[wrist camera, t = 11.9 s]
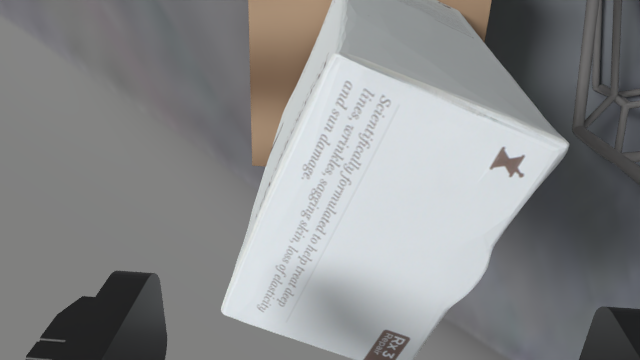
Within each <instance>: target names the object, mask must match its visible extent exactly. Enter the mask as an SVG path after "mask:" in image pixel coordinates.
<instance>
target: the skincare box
mask: <svg viewBox="0 0 640 360" xmlns="http://www.w3.org/2000/svg"><path fill="white" fill-rule="evenodd" d="M568 148H569V143H568V142H567V141H566V139H564V138H563V137H562V136H561V135H560V134H559V133H558V132H557V131H556V130H555V129H554V128H553V127H552V126H551V124H550V123H549V122H548V121H547V120H546V119H545V117H544V116H543V115H542V114H541V112H540V111H539V110H538V109H537V107H536V106H535V105H534V104H533V102H532V101H531V100H530V99H529V97H528V96H527V95H526V94H525V93H524V91H523V90H522V89H521V87H520V86H519V85H518V84H517V82H516V81H515V80H514V79H513V77H512V76H511V75H510V74H509V72H508V71H507V70H506V69H505V68H504V67H503V66H502V64H501V63H500V62H499V60H498V59H497V58H496V57H495V56H494V54H493V53H492V52H491V51H490V49H489V48H488V47H487V46H486V44H485V43H484V42H483V41H482V39H481V38H480V37H479V36H478V34H477V33H476V32H475V31H474V29H473V28H472V27H471V25H470V24H469V23H468V22H467V20H466V19H465V18H464V16H463V15H462V14H461V13H460V12H459V11H458V10H456V9H454V8H452V7H450V6H448V5H446V4H444V3H441V2H439V1H437V0H332V2H331V5H330V8H329V10H328V13H327V15H326V18H325V20H324V23H323V25H322V28H321V31H320V33H319V35H318V38H317V40H316V42H315V45H314V47H313V50H312V52H311V54H310V57H309V59H308V61H307V63H306V66H305V68H304V70H303V72H302V74H301V77H300V79H299V81H298V83H297V85H296V87H295V89H294V91H293V93H292V95H291V97H290V99H289V101H288V103H287V105H286V107H285V109H284V112H283V114H282V118H281V121H280V124H279V127H278V129H277V133H276V136H275V139H274V143H273V146H272V149H271V152H270V156H269V159H268V162H267V165H266V168H265V171H264V174H263V178H262V181H261V184H260V187H259V191H258V194H257V197H256V200H255V203H254V207H253V210H252V214H251V218H250V222H249V226H248V230H247V233H246V236H245V240H244V243H243V246H242V248H241V251H240V254H239V257H238V260H237V263H236V266H235V269H234V272H233V276H232V279H231V282H230V284H229V287H228V290H227V292H226V295H225V298H224V301H223V304H222V307H221V312H222V313H223V314H224V315H226V316H229V317H232V318H235V319H237V320H240V321H242V322H245V323H248V324H250V325H254V326H257V327H260V328H263V329H265V330H268V331H271V332H274V333H277V334H280V335H283V336H286V337H289V338H292V339H295V340H298V341H301V342H304V343H307V344H310V345H313V346H316V347H319V348H322V349H325V350H328V351H331V352H334V353H337V354H340V355H343V356H346V357H349V358H351V359H354V360H414V359H415V357H416V356H417V355H418V353H419V351H420V350H421V349H422V347H423V346H424V344H425V343H426V341H427V340H428V338H429V337H430V335H431V334H432V332H433V331H434V329H435V328H436V327H437V325H438V324H439V323H440V321H441V320H442V318H443V317H444V315H445V314H446V313H447V311H448V310H449V308H450V307H452V306H453V305H454V304H455V303H457V302H458V301H459V300H461V299H462V298H463V297H465V296H466V295H467V294H468V293H469V292H470V291H471V290H472V289H473V288H474V287H475V286H476V284H477V283H478V282H479V281H480V279H481V278H482V276H483V274H484V273H485V271H486V269H487V267H488V264H489V260H490V256H491V253H492V249H493V247H494V245H495V244H496V243H497V241H498V240H499V238H500V237H501V236H502V234H503V233H504V231H505V230H506V229H507V227H508V226H509V224H510V223H511V222H512V220H513V219H514V218H515V216H516V215H517V214H518V212H519V211H520V210H521V208H522V207H523V206H524V204H525V203H526V202H527V201H528V199H529V198H530V197H531V196H532V194H533V193H534V192H535V191H536V190H537V188H538V187H539V186H540V185H541V184H542V183H543V181H544V180H545V179H546V178H547V177H548V176H549V175H550V173H551V172H552V171H553V170H554V169H555V167H556V166H557V165H558V164H559V163H560V161H561V160H562V159H563V158H564V156H565V155H566V153H567V151H568Z"/></svg>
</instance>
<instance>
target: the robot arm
mask: <svg viewBox="0 0 640 360" xmlns="http://www.w3.org/2000/svg"><path fill="white" fill-rule="evenodd" d="M166 348H167V332H166V324H165V317H164V308H163V301H162V293H161V285H160V280H159V277H158V275H157V274H155V273H142V272H128V271H115V272H113V273H112V274H111V275H110V276H109V278H108V279H107V281H106V282H105V284H104V285H103V287H102V288H101V289H100V291H99V293H98V294H97V295H96V297H85V296H84V297H83V296H82V297H81V298H79V299H78V300H77V301H75V302H74V303H73V304H71V305H70V306H68V307H67V308H66V309H64V310H63V311H62V312H60V313H59V314H57V316H56V317H55V318H54V320H53V321H52V322H51V324H50V325H49V326H48V328H47V329H46V330H45V332H44V333H43V334H42V336H41V337H40V342H37V343H36V344H35V345H34V347H33V348H32V349H31V350H30V352H29V353H28V354H27V356H26V360H165V355H166ZM579 360H640V309H631V308H616V307H600V308H599V309H598V310H597V311H596V313H595V315H594V317H593V320H592V323H591V326H590V329H589V332H588V335H587V338H586V341H585V344H584V347H583V349H582V352H581V355H580V358H579Z"/></svg>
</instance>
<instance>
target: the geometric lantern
mask: <svg viewBox="0 0 640 360" xmlns="http://www.w3.org/2000/svg"><path fill="white" fill-rule="evenodd" d="M621 11H622V0H614V5H613V34H612V62H611V88H609V87H607V86H606V85H604V84H601V85H599V78H600V50H601V22H602V0H587V3H586V12H585V21H584V30H583V38H582V47H581V56H580V65H579V73H578V82H577V91H576V100H575V108H574V117H573V126H572V131H573V133H574V134H575V136H576V137H577V138H578V139H580V140H581V141H582V142H583V143H585V144H586V145H587V146H589V147H590V148H591V149H593V150H594V151H595V152H597V153H598V154H599V155H601V156H602V157H603V158H605V159H606V160H608V161H610V162H611V163H614V164H615V165H616V166H617V167H618V168H620V169H621V170H622V171H623V172H624V173H625V174H627V175H628V176H629V177H630V178H631V179H633V180H634V181H635V182H636V183H637V184H638V185H640V166H639V165H637V164H636V163H634V162H640V151H639V152H625V153H622V147H623V141H624V135H625V129H626V122H627V116H628V110H629V109H632V108H638V107H640V101H634V102H629V101H628V100H627V99H626V98H624V97H630V96H637V95H640V89H635V90H628V91H621V92H618V83H619V59H620V35H621ZM592 57H593V76H592V86H593V90H595V91H597V92H599V93H601V94H603V95H605V96H607V98H606V99H605V100H604V101H603V102H602V103H601V104H600V105H599V107H598V108H597V109H596V110H595V111H594V112H593V113H592V114H591V115H590V116H589V117H588V118H587V119H586V120H585V113H586V105H587V97H588V89H589V81H590V73H591V65H592ZM613 101H614V102H616V103H617V104H618V105H619V106H621V113H620V118H619V124H618V130H617V136H616V142H615V148H613V147H611V146H610V145H609V144H607V143H606V142H604V141H603V140H602V139H600V138H599V137H597V136H596V135H594V134H593V133H592V132H590V131H589V130H587V128H588V127H589V126H590V125H591V123H592V122H593V121H594V120H595V119H596V118H597V117H598V116H599V115H600V114H601V113H602V112H603V111H604V110H605V109H606V108H607V107H608V106H609V105H610V104H611V103H612V102H613Z"/></svg>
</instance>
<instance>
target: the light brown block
mask: <svg viewBox="0 0 640 360" xmlns="http://www.w3.org/2000/svg"><path fill="white" fill-rule="evenodd" d="M437 1H439V2H441V3H444V4H446V5H448V6H450V7H452V8H454V9H456V10H458V11H459V12H460V13H461V14H462V15H463V16H464V18H465V19H466V20H467V22H468V23H469V24H470V25H471V27H472V28H473V29H474V31H475V32H476V33H477V34H478V36H479V37H480V38H481V39H482V41H483V42H485V36H486V30H487V24H488V18H489V13H490V7H491V1H492V0H437ZM248 2H249V44H250V87H251V129H252V166H266V165H267V162H268V159H269V156H270V152H271V149H272V146H273V143H274V139H275V136H276V133H277V129H278V127H279V124H280V121H281V118H282V114H283V112H284V109H285V107H286V105H287V103H288V101H289V99H290V97H291V95H292V93H293V91H294V89H295V87H296V85H297V83H298V81H299V79H300V77H301V74H302V72H303V70H304V68H305V66H306V63H307V61H308V59H309V57H310V54H311V52H312V50H313V47H314V45H315V42H316V40H317V38H318V35H319V33H320V31H321V28H322V25H323V23H324V20H325V18H326V15H327V13H328V10H329V8H330V5H331V2H332V0H248Z"/></svg>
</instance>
